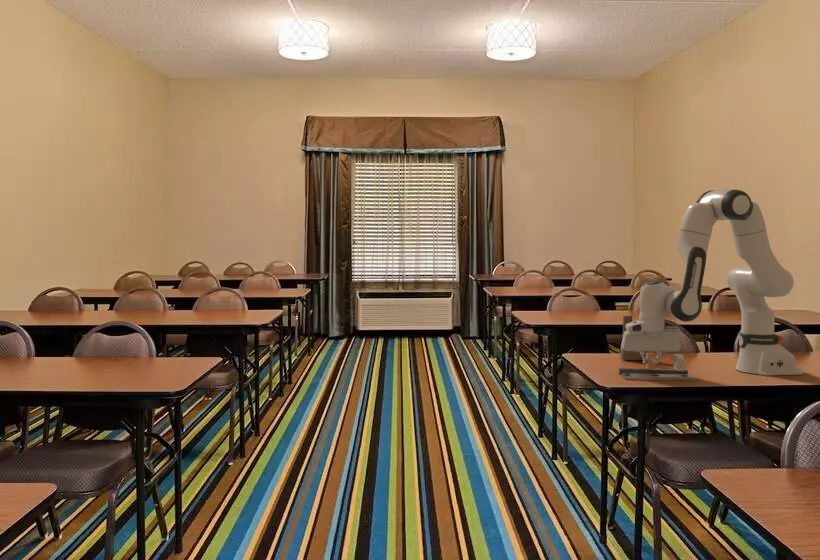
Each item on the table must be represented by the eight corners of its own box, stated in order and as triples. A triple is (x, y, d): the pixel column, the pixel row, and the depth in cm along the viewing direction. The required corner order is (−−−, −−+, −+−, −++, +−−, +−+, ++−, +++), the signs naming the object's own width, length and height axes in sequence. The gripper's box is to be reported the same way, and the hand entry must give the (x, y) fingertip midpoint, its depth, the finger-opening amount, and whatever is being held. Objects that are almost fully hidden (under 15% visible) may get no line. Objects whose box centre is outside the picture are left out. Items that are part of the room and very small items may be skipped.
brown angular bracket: (650, 361, 282) (651, 316, 280) (622, 360, 283) (623, 316, 282) (648, 359, 285) (649, 315, 284) (620, 359, 286) (621, 315, 285)
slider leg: (652, 367, 258) (652, 352, 258) (659, 372, 248) (659, 357, 248) (645, 367, 259) (646, 352, 258) (652, 372, 249) (652, 357, 248)
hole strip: (691, 377, 250) (691, 374, 250) (695, 380, 245) (695, 377, 245) (621, 376, 252) (621, 372, 252) (624, 379, 247) (624, 375, 247)
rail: (685, 373, 257) (685, 354, 257) (693, 379, 248) (694, 359, 247) (618, 372, 260) (618, 353, 259) (623, 378, 250) (624, 358, 249)
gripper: (678, 324, 257) (677, 362, 258) (621, 324, 259) (620, 361, 260) (683, 327, 251) (682, 365, 252) (624, 326, 253) (624, 364, 254)
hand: (650, 363), depth 256 cm, fingers closed on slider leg, 2 cm apart
